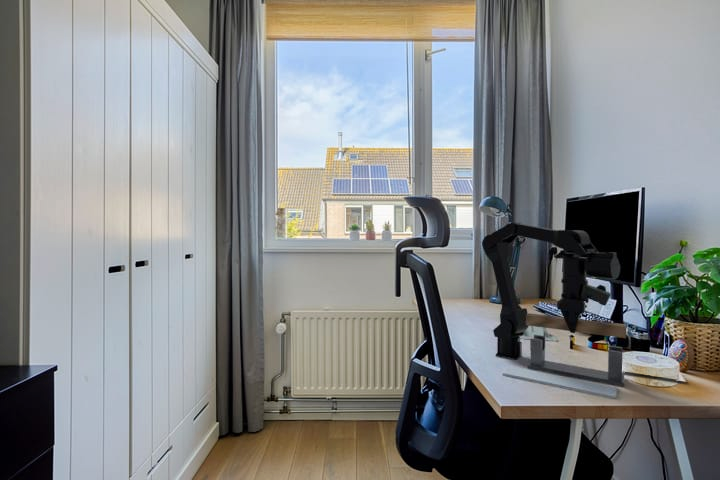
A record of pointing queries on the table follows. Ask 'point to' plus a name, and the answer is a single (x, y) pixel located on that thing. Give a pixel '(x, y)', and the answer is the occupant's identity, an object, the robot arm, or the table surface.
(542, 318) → the walnut bar
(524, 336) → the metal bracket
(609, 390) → the blue-grey mat
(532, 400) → the table surface
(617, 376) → the dark grey u-shaped stand
